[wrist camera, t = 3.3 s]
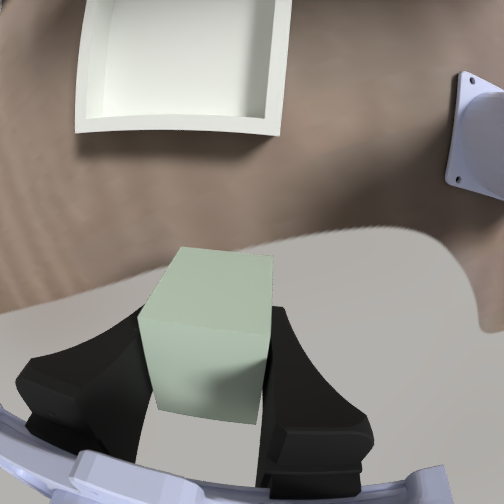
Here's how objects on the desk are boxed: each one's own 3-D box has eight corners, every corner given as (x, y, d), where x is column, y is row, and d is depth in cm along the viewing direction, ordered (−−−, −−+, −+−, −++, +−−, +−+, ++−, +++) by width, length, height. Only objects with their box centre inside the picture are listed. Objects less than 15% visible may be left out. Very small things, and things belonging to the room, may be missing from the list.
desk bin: (295, -57, 11) (297, -80, 8) (278, 132, 17) (279, 136, 14) (122, -45, 11) (102, -61, 8) (100, 128, 17) (74, 133, 14)
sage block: (273, 256, 13) (270, 335, 9) (262, 343, 15) (256, 424, 11) (181, 246, 13) (137, 317, 9) (185, 333, 15) (158, 409, 11)
